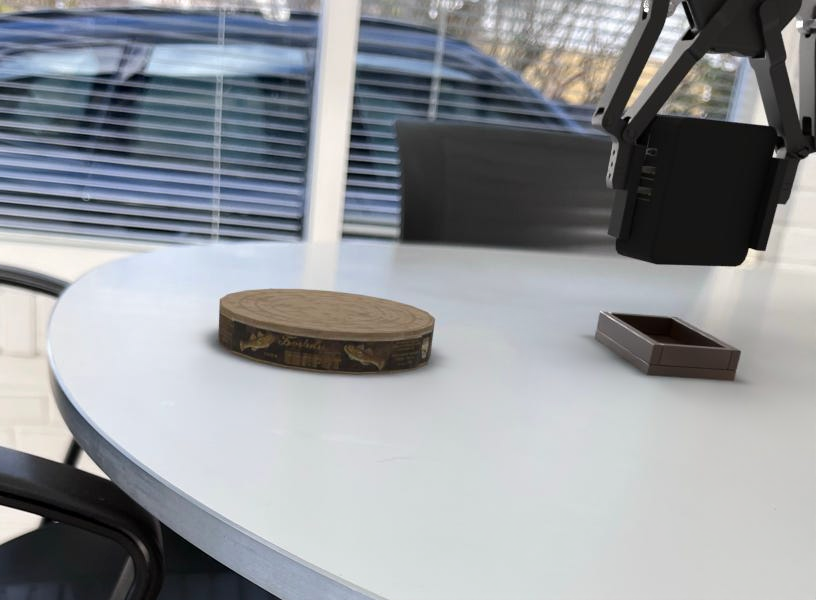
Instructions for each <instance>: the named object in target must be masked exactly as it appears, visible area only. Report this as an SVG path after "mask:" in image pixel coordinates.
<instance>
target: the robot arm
mask: <svg viewBox="0 0 816 600" xmlns="http://www.w3.org/2000/svg"><path fill="white" fill-rule="evenodd" d="M679 4H681V6H682V9H683V12H684V14H685V17H686V20H687V23H688V25H689V26H688V27H687V28H686V29H685V31H683V33H682V34H681V36H680V37H679V39H678V40H677V41H676V42H675V44H674V45H673V46H672V50H671V52H670V53H669V55H668V56H667V57H666V59H665V60H664V62H662V65H661V66H660V67H659V69H658V70H656V72H655V74H654V75H653V76H652V78H651V79H650V80H649V81H648V83H647V84H646V85H645V87H644V88H643V90H642V91H641V92H640V94H639V95H638V96H637V97H636V98H635V99H634V101H633V102H632V104H630V106H629V107H628V109H627V111H625V109H626V107H627V105H628V103H629V101H630V98H631V97H632V94H633V92H634V91H635V88H636V87H637V84H638V82H639V80H640V77H641V76H642V73H643V71H644V69H645V67H646V65H647V63H648V62H649V58H650V57H651V54H652V53H653V51H654V48H655V47H656V44H657V43H658V40H659V38H660V36H661V34H662V32H663V29H664V27H665V24H666V21H667V18H670V17H672V16H673V15H674V14H675V12H676V10H677V7H678V6H679ZM638 13H639V14H638V18H637V21H636V23H635V25H634V28H633V30H632V32H631V34H630V36H629V38H628V40H627V43H626V44H625V46H624V49H623V51H622V53H621V55H620V57H619V60H618V62H617V64H616V66H615V68H614V70H613V72H612V74H611V77H610V79H609V81H608V83H607V85H606V86H605V89H604V92H603V93H602V96H601V98H600V100H599V102H598V104H597V106H596V108H595V110H594V113H593V115H592V117H591V126H592V127H593V128H594V129H595V130H599V132H602V133H603V134H605V135H606V136H608V137H609V138H610V139H611V142H612V143H611V144H612V146H611V150H610V151H611V152H610V157H609V162H608V168H607V173H606V178H605V181H606V182H605V183H606V188H608V189H611V190H615V192H614V197H613V201H612V202H613V203H612V208H611V213H610V218H609V224H608V229H607V233H606V234H607V235H608V236H610V237H613V238H615V239H616V238H618V239H626V240H628V237H629V232H630V227H631V223H632V218H633V213H634V208H635V203H636V198H637V193H638V188H639V183H640V178H641V173H642V168H643V164H644V159H645V154H646V149H647V146H645V145H637V144H636V140H637V139H638V138H639V136H640V135H641V134H642V132H643V131H644V130H645V128H646V127H647V126H648V125H649V123H650V122H651V121H652V119H653V118H654V117H655V115H656V114H659V112H660V110H661V109H662V108H663V107H664V106H665V104H666V102H667V101H668V100H669V99H670V97H671V96H672V95H673V94H674V92H675V91H676V90H677V88H678V87H679V86H680V84H682V82H683V81H684V79H685V78H686V76H687V75H688V74H689V72H690V71H691V70H692V69H693V67H695V65H696V64H697V63H698V62H700V61H701V60H702V59H703V58H704V56H705V55H706V54H709V55H721V54H724V55H725V54H727V55H729V56H732V57H736V58H747V59H748V63H749V65H750V67H751V69H753V71H754V74H755V79H756V82H757V86H758V90H759V94H760V98H761V102H762V105H763V110H764V114H765V116H766V117H765V118H766V121H767V126H772V127H774V128H775V129H776V131H777V142H776V146H775V150H774V153H775V154H776V156H773V157H772V160H771V164H770V168H769V172H768V176H767V180H766V184H765V187H764V191H763V195H762V199H761V203H760V207H759V211H758V215H757V219H756V223H755V226H754V230H753V234H752V238H751V242H750V246H749V250H754V251H759V252H766V251H767V247H768V243H769V240H770V239H769V238H770V235H771V231H772V228H773V224H774V220H775V216H776V213H777V209H778V205H785V206H786V205H787V203H788V201H789V200H790V198H791V195H792V189H793V186H794V183H795V179H796V175H797V172H798V168H799V165H800V162H801V160H805V159H806V158H808V157H809V155H811V154H816V0H640V8H639V12H638ZM794 18H795V20H796V26H795V27H796V31H797V32H798V33H799V41H798V110H797V104H796V101H795V97H794V94H793V89H792V83H791V81H790V80H791V79H790V76H789V73H788V68H787V64H786V60H787V51H786V47H785V43H784V38H783V33H782V32H783V31H784V29H785V28H786V27H787V26H788V25H789V24H790V23H791V22H792V21H793V19H794ZM624 111H625V113H624ZM623 113H624V114H623Z"/></svg>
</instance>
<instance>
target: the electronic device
mask: <svg viewBox="0 0 816 600" xmlns="http://www.w3.org/2000/svg"><path fill="white" fill-rule="evenodd" d="M776 142H777V131H776V129H775V128H774V127H772V126H769V125H765V124H757V123H756V124H755V123H748V122H747V123H746V122H737V121H727V120H718V119H708V118H700V117H690V116H680V115H671V114H661V113H657V114H656V115H655V117H654V118H653V119H652V121H651V122H650V123H649V125H648V126H647V127H646V128H645V130H644V131H643V132H642V134H641V135H640V136H639V138H638V139H637V140H636V142H635V144H637V145H645V146H647V149H646V154H645V159H644V164H643V168H642V173H641V178H640V183H639V188H638V193H637V198H636V203H635V208H634V213H633V218H632V223H631V227H630V232H629V237H628V240H626V239H618V238H615V251H616V253H617V254H618V255H619V256H622V257H626V258H630V259H634V260H638V261H642V262H646V263H648V264H649V263H650V264H652V265H659V266H662V265H663V266H696V267H730V268H731V267H732V268H733V267H735V268H736V267H739V266H741V265H742V264H743V263H744V262H745V261H746V258H747V256H748V254H749V250H750V248H749V246H750V242H751V238H752V234H753V230H754V226H755V223H756V219H757V215H758V211H759V207H760V203H761V199H762V195H763V191H764V187H765V184H766V180H767V176H768V172H769V168H770V164H771V160H772V157H774V155H775V154H774V153H775V146H776Z"/></svg>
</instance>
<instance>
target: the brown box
mask: <svg viewBox="0 0 816 600" xmlns="http://www.w3.org/2000/svg"><path fill="white" fill-rule="evenodd" d="M594 339H595V340H596V341H597V342H598V343H600V344H602V346H605V347H606V348H607V349H609V350H610V351H612V352H613V353H615V354H616V355H618V356H619V357H620V358H622V359H623V360H625V361H626V362H627V363H629V364H631V365H632V366H633V367H634V368H636V369H638V370H639V371H640V372H642V373H643V374H645V376H653V377H666V378H667V377H668V378H684V379H699V380H711V381H713V380H714V381H725V382H726V381H730V382H734V381H735V378H736V374H737V369H738V365H739V361H740V358H741V354H742V350H740V349H738V348H737V347H735V346H732V345H731V344H730V343H727V342H725V341H723V340H721V339H719V338H717V337H716V336H714V335H712V334H711V333H708V332H706V331H705V330H702V329H700V328H698V327H697V326H695V325H693V324H691V323H690V322H688V321H685V320H684V319H681V318H679V316H678V317H677V316H669V315H655V314H644V313H643V314H641V313H630V312H617V311H616V312H615V311H601V310H600V311H599V314H598V319H597V324H596V329H595V334H594Z"/></svg>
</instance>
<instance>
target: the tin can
mask: <svg viewBox="0 0 816 600" xmlns="http://www.w3.org/2000/svg"><path fill="white" fill-rule="evenodd" d="M218 309H219V310H218V333H217V334H218V336H217V337H218V343H219V346H220V347H221V348H223V349H225V350H226V351H228V352H229V353H230V354H233V355H236V356H238V357H240V358H244V359H247V360H250V361H253V362H255V363H256V362H257V363H261V364H265V365H270V366H274V367H275V366H276V367H279V368H284V369H290V370H298V371H306V372H313V373H319V374H320V373H322V374H338V375H357V376H359V375H387V374H388V375H389V374H397V373H401V372H409V371H414V370H416V369H418V368H421V367H424V366H427V365H428V364H429V361H430V359H431V356H432V355H431V354H432V346H433V340H434V339H433V338H434V330H435V323H436V318H435V317H434V316H433V315H432V314H430V313H429V311H426V310H423V309H421V308H419V307H416V306H413V305H411V304H408V303H403V302H399V301H396V300H392V299H386V298H381V297H376V296H370V295H365V294H358V293H350V292H342V291H333V290H323V289H322V290H321V289H307V288H260V289H245V290H241V291H236V292H232V293H231V292H230V293H227V294H225V296H222V297H221V298H219V308H218Z"/></svg>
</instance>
